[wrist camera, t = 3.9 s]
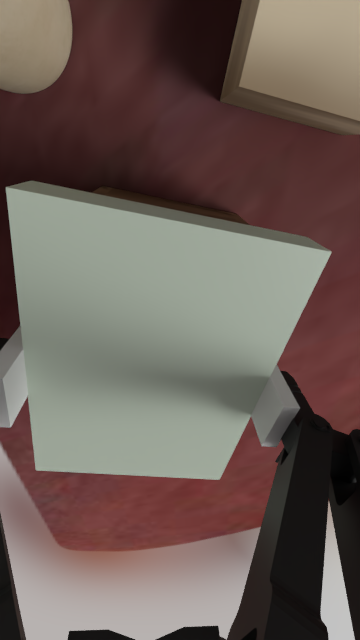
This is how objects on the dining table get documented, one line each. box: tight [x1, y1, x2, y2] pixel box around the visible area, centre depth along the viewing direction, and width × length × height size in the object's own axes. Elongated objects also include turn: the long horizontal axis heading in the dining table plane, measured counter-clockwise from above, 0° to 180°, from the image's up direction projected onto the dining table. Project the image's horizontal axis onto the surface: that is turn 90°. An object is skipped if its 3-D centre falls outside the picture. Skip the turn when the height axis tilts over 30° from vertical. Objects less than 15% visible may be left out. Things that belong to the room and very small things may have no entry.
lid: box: [6, 181, 332, 480], centre depth 14 cm, size 15×11×2 cm
